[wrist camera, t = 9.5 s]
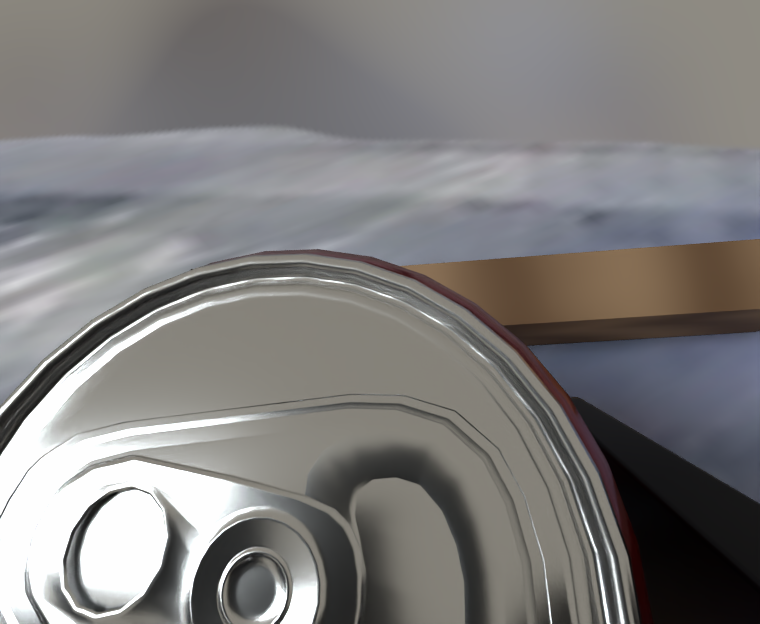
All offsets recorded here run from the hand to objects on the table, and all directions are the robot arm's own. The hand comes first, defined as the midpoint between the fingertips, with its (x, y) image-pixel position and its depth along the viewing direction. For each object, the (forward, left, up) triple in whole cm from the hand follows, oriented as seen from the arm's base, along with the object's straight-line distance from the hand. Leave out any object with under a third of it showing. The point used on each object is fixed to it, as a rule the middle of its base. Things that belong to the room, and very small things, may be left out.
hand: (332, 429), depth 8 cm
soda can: (-1, +1, -8) cm, 8 cm away
